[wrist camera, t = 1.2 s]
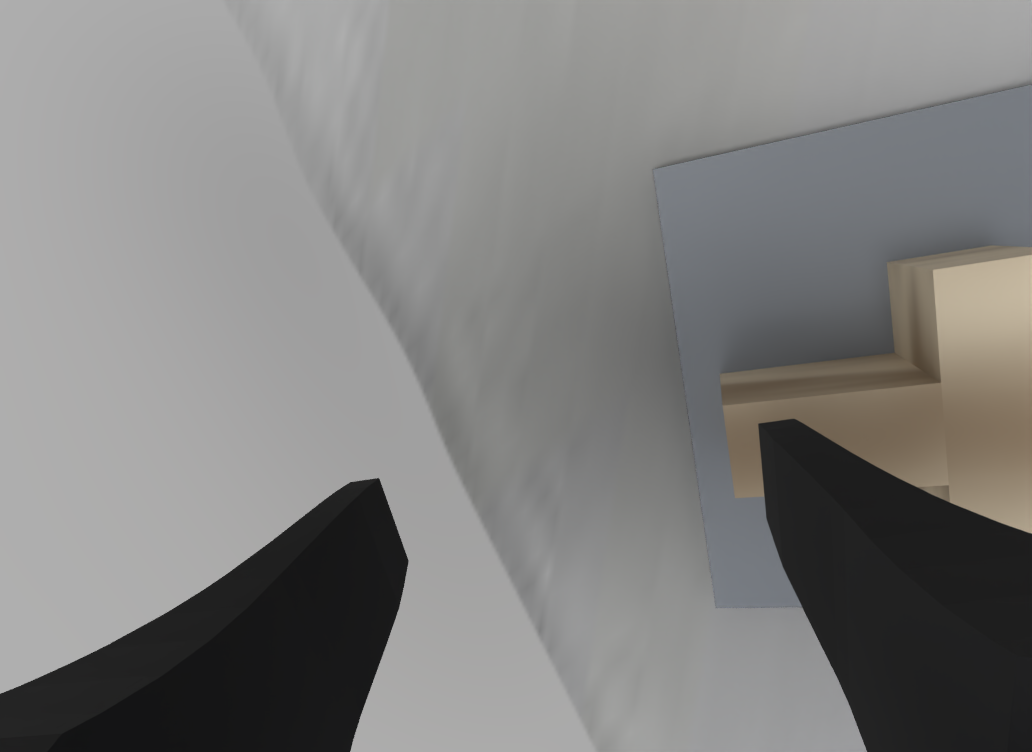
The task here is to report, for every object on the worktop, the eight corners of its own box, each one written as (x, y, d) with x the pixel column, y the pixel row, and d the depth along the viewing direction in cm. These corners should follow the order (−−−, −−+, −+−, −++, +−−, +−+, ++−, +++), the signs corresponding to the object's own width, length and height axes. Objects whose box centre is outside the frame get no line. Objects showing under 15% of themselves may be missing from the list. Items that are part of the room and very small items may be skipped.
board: (1444, 580, 17) (1486, 600, 16) (715, 592, 23) (716, 608, 22) (1483, -12, 15) (1536, -29, 14) (655, 172, 21) (652, 169, 20)
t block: (1007, 513, 19) (1081, 583, 15) (740, 526, 21) (747, 589, 18) (992, 245, 18) (1068, 248, 14) (708, 291, 20) (709, 304, 16)
